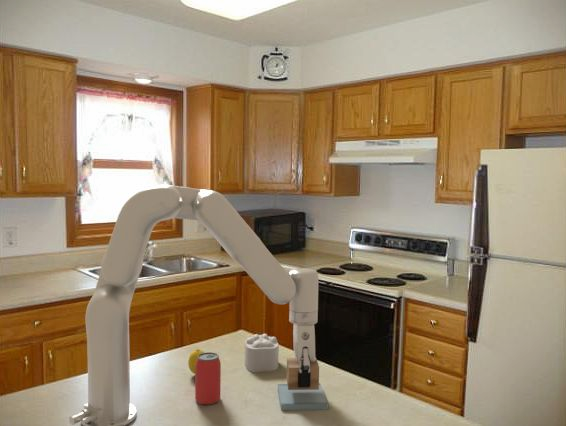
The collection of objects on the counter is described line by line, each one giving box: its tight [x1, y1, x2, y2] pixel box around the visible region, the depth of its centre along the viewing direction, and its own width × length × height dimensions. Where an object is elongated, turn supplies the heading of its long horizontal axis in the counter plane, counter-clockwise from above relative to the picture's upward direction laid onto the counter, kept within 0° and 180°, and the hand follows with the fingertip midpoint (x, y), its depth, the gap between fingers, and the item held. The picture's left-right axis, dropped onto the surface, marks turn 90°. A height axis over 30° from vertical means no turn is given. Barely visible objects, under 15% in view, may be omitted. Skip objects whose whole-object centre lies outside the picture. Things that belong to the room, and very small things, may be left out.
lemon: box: [187, 348, 205, 374], centre depth 143 cm, size 6×6×8 cm
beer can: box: [194, 351, 222, 406], centre depth 128 cm, size 7×7×12 cm
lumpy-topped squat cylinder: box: [244, 333, 279, 373], centre depth 153 cm, size 10×13×9 cm
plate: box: [277, 382, 328, 411], centre depth 130 cm, size 12×12×2 cm
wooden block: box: [286, 357, 320, 390], centre depth 129 cm, size 6×8×6 cm
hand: (302, 380), depth 129 cm, fingers closed on wooden block, 6 cm apart
